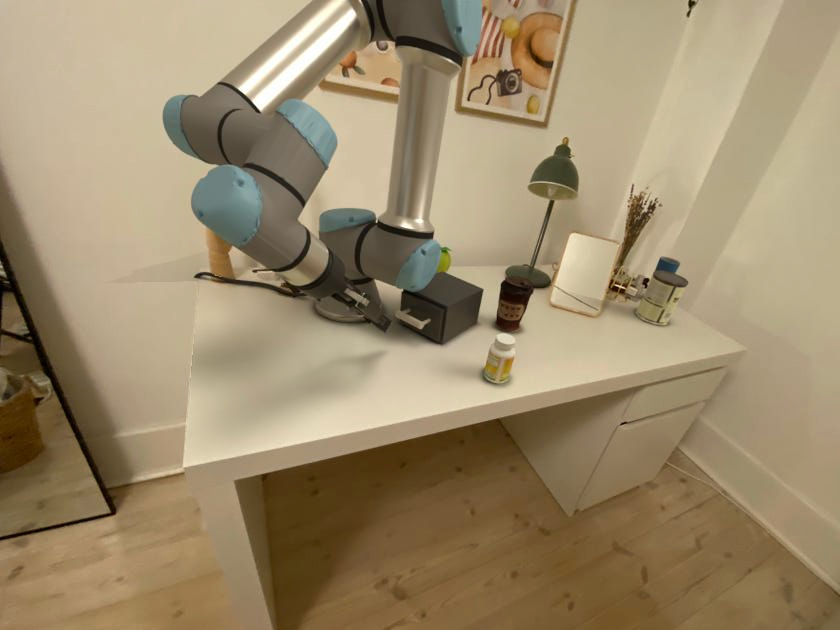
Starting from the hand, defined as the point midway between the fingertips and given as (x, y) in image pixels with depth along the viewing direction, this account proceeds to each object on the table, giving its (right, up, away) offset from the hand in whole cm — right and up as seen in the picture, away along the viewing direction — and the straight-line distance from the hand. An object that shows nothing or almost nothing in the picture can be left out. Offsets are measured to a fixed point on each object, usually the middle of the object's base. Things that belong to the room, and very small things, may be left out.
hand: (386, 325), depth 76 cm
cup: (+80, +14, +58) cm, 100 cm away
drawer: (+7, +2, +14) cm, 16 cm away
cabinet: (+9, +2, +18) cm, 20 cm away
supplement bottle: (+22, -11, +4) cm, 25 cm away
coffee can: (+74, +7, +45) cm, 87 cm away
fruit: (+4, +19, +42) cm, 46 cm away
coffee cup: (+26, +2, +23) cm, 35 cm away
